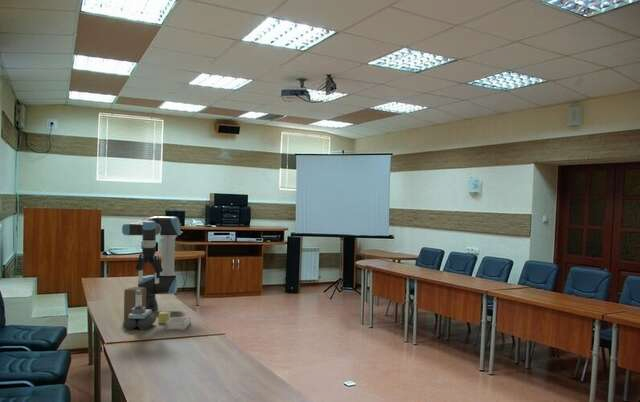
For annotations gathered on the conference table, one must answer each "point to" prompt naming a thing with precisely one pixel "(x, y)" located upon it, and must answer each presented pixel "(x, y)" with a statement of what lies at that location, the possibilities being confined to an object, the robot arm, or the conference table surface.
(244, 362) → the conference table surface
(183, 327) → the tray
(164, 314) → the yellow cube
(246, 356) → the conference table surface
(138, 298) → the pin
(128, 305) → the block
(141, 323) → the grey plate on cylinders
